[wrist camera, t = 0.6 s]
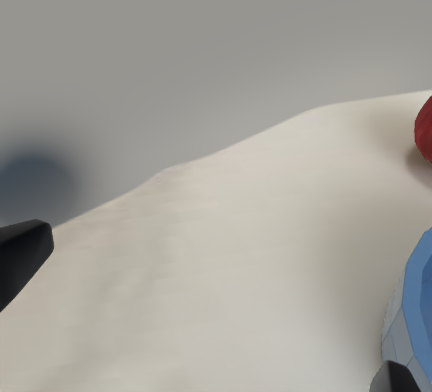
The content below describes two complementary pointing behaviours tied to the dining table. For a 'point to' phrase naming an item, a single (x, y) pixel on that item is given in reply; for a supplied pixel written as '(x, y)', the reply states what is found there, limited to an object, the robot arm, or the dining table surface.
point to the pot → (412, 316)
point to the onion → (424, 130)
